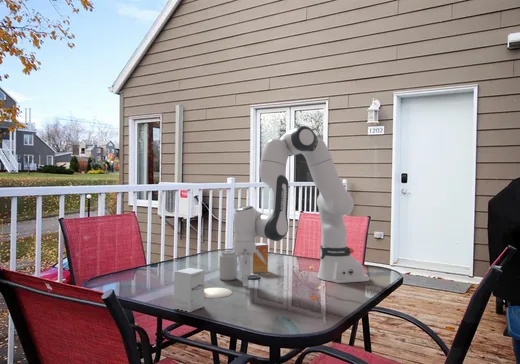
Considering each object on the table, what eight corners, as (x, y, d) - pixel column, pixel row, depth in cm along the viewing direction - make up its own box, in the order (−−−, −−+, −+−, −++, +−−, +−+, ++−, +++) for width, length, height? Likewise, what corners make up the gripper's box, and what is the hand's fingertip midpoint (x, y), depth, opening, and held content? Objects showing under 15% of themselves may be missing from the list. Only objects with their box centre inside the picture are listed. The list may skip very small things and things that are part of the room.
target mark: (231, 287, 154) (231, 287, 154) (232, 297, 141) (232, 297, 141) (199, 288, 153) (199, 287, 153) (196, 298, 140) (196, 297, 140)
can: (234, 281, 164) (234, 253, 164) (217, 280, 165) (217, 252, 165) (238, 277, 171) (238, 250, 171) (222, 276, 172) (222, 249, 172)
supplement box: (189, 313, 124) (190, 274, 124) (173, 308, 128) (173, 271, 128) (204, 307, 130) (205, 269, 130) (188, 303, 134) (188, 266, 134)
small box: (252, 273, 178) (253, 245, 178) (247, 270, 184) (247, 243, 184) (268, 271, 182) (268, 244, 182) (262, 269, 188) (262, 242, 188)
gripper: (254, 252, 142) (254, 289, 142) (250, 243, 162) (250, 275, 162) (237, 252, 141) (237, 289, 141) (235, 243, 162) (235, 276, 162)
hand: (244, 282), depth 152 cm, fingers open, 8 cm apart
